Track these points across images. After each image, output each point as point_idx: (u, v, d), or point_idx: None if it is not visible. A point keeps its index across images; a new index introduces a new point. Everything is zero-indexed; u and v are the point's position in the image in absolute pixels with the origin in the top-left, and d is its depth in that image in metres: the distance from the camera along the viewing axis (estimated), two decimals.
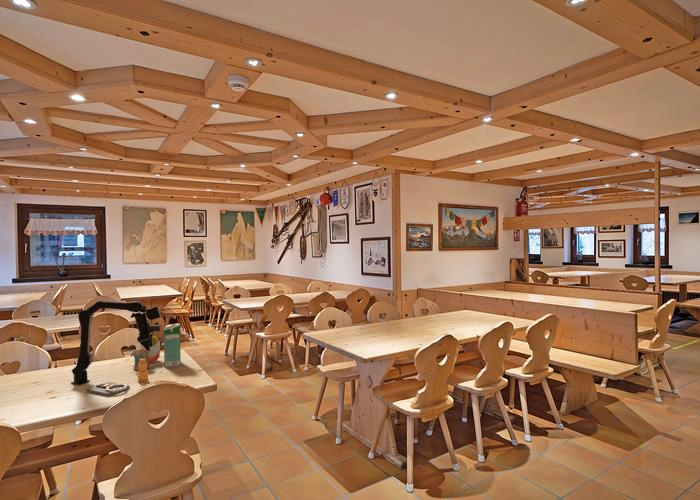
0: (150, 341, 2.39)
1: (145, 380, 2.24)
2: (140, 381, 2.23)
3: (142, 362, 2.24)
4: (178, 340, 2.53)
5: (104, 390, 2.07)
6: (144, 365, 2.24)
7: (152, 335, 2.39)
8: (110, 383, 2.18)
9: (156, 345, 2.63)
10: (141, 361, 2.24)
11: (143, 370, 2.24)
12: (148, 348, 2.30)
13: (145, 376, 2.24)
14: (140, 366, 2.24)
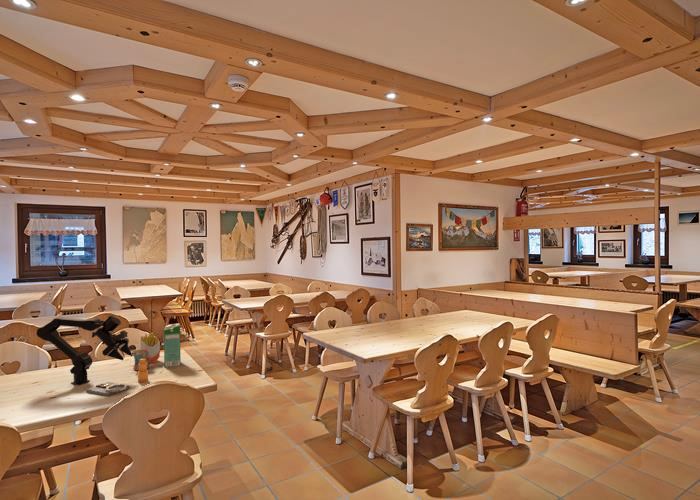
0: (127, 350, 2.29)
1: (145, 380, 2.24)
2: (140, 381, 2.23)
3: (142, 362, 2.24)
4: (178, 340, 2.53)
5: (104, 390, 2.07)
6: (144, 365, 2.24)
7: (126, 344, 2.30)
8: (110, 383, 2.18)
9: (156, 345, 2.63)
10: (141, 361, 2.24)
11: (143, 370, 2.24)
12: (121, 357, 2.20)
13: (145, 376, 2.24)
14: (140, 366, 2.24)
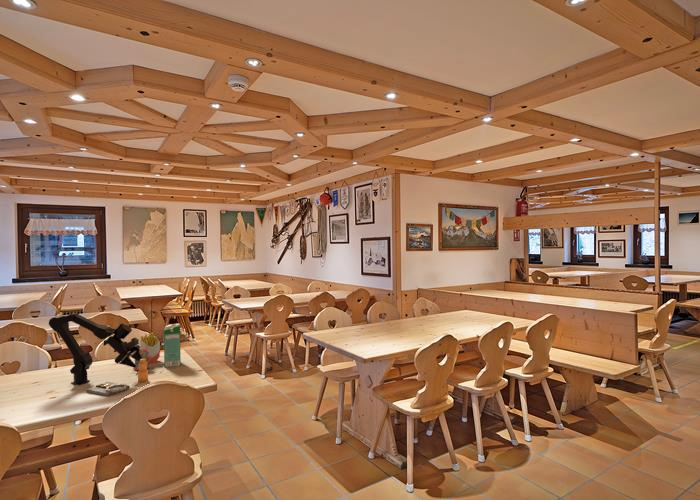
0: (139, 357, 2.30)
1: (145, 380, 2.24)
2: (140, 381, 2.23)
3: (142, 362, 2.24)
4: (178, 340, 2.53)
5: (104, 390, 2.07)
6: (144, 365, 2.24)
7: (138, 351, 2.30)
8: (110, 383, 2.18)
9: (156, 345, 2.63)
10: (141, 361, 2.24)
11: (143, 370, 2.24)
12: (133, 365, 2.20)
13: (145, 376, 2.24)
14: (140, 366, 2.24)
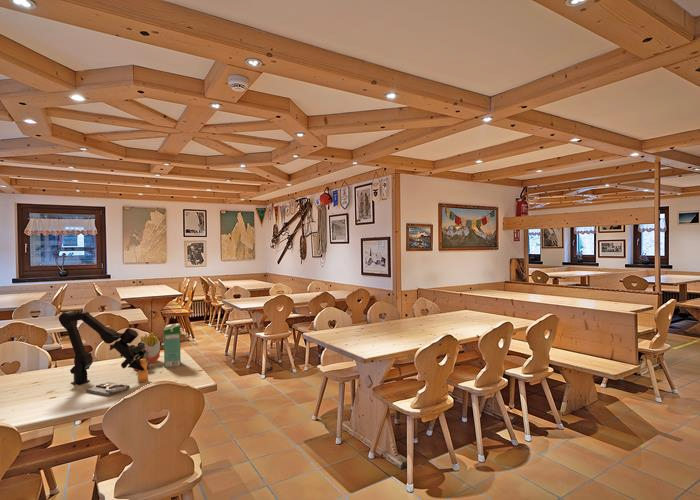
0: None
1: (145, 380, 2.24)
2: (140, 381, 2.23)
3: (142, 362, 2.24)
4: (178, 340, 2.53)
5: (104, 390, 2.07)
6: (144, 365, 2.24)
7: (142, 357, 2.28)
8: (110, 383, 2.18)
9: (156, 345, 2.63)
10: (141, 361, 2.24)
11: None
12: (141, 368, 2.23)
13: (145, 376, 2.24)
14: None
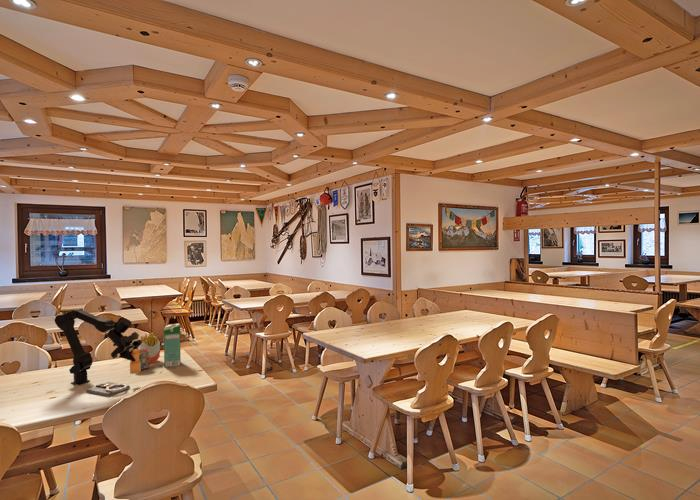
0: None
1: (136, 371, 2.18)
2: (131, 372, 2.17)
3: (134, 353, 2.18)
4: (178, 340, 2.53)
5: (104, 390, 2.07)
6: (136, 356, 2.18)
7: (135, 347, 2.22)
8: (110, 383, 2.18)
9: (156, 345, 2.63)
10: (133, 351, 2.18)
11: (135, 361, 2.18)
12: (132, 359, 2.17)
13: (137, 367, 2.18)
14: None
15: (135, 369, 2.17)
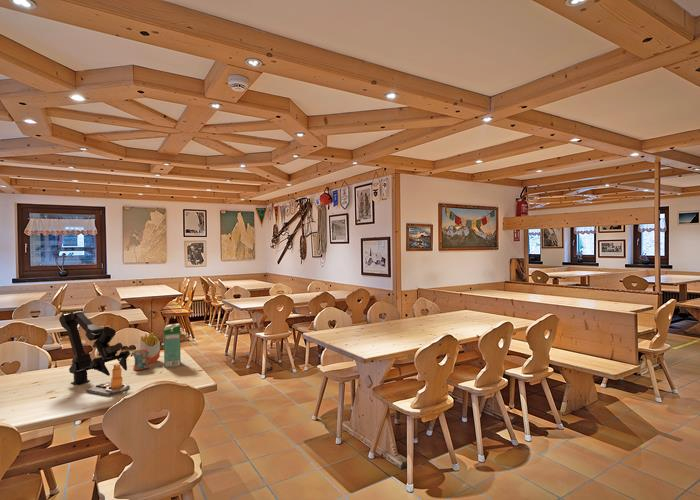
0: (124, 364, 2.14)
1: (116, 388, 2.07)
2: (111, 388, 2.08)
3: (115, 368, 2.08)
4: (178, 340, 2.53)
5: (104, 390, 2.07)
6: (116, 372, 2.08)
7: (123, 357, 2.14)
8: (110, 383, 2.18)
9: (156, 345, 2.63)
10: (114, 367, 2.08)
11: (115, 377, 2.08)
12: (106, 373, 2.05)
13: (116, 384, 2.07)
14: (112, 372, 2.08)
15: (114, 386, 2.07)
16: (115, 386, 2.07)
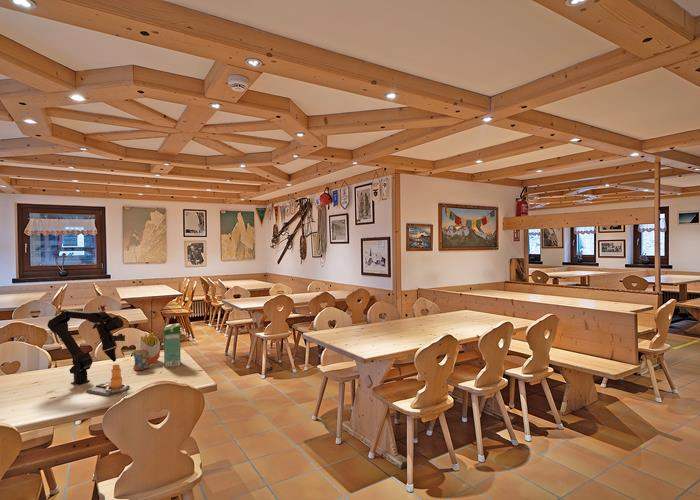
0: None
1: (116, 388, 2.07)
2: (111, 389, 2.08)
3: (114, 369, 2.08)
4: (178, 340, 2.53)
5: (104, 390, 2.07)
6: (115, 372, 2.08)
7: None
8: (110, 383, 2.18)
9: (156, 345, 2.63)
10: (113, 367, 2.08)
11: (114, 377, 2.08)
12: (114, 358, 2.17)
13: (116, 384, 2.07)
14: (112, 373, 2.08)
15: (114, 386, 2.07)
16: (115, 386, 2.07)
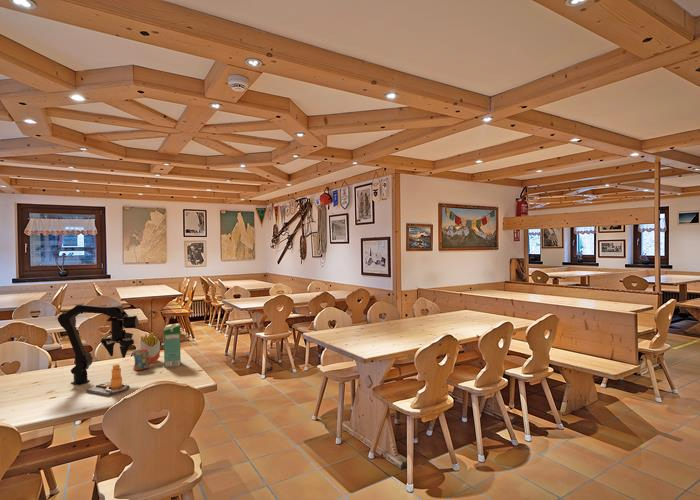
0: (112, 350, 2.29)
1: (116, 388, 2.07)
2: (111, 389, 2.08)
3: (114, 369, 2.08)
4: (178, 340, 2.53)
5: (104, 390, 2.07)
6: (115, 372, 2.08)
7: None
8: (110, 383, 2.18)
9: (156, 345, 2.63)
10: (113, 367, 2.08)
11: (114, 377, 2.08)
12: (124, 355, 2.25)
13: (116, 384, 2.07)
14: (112, 373, 2.08)
15: (114, 386, 2.07)
16: (115, 386, 2.07)
